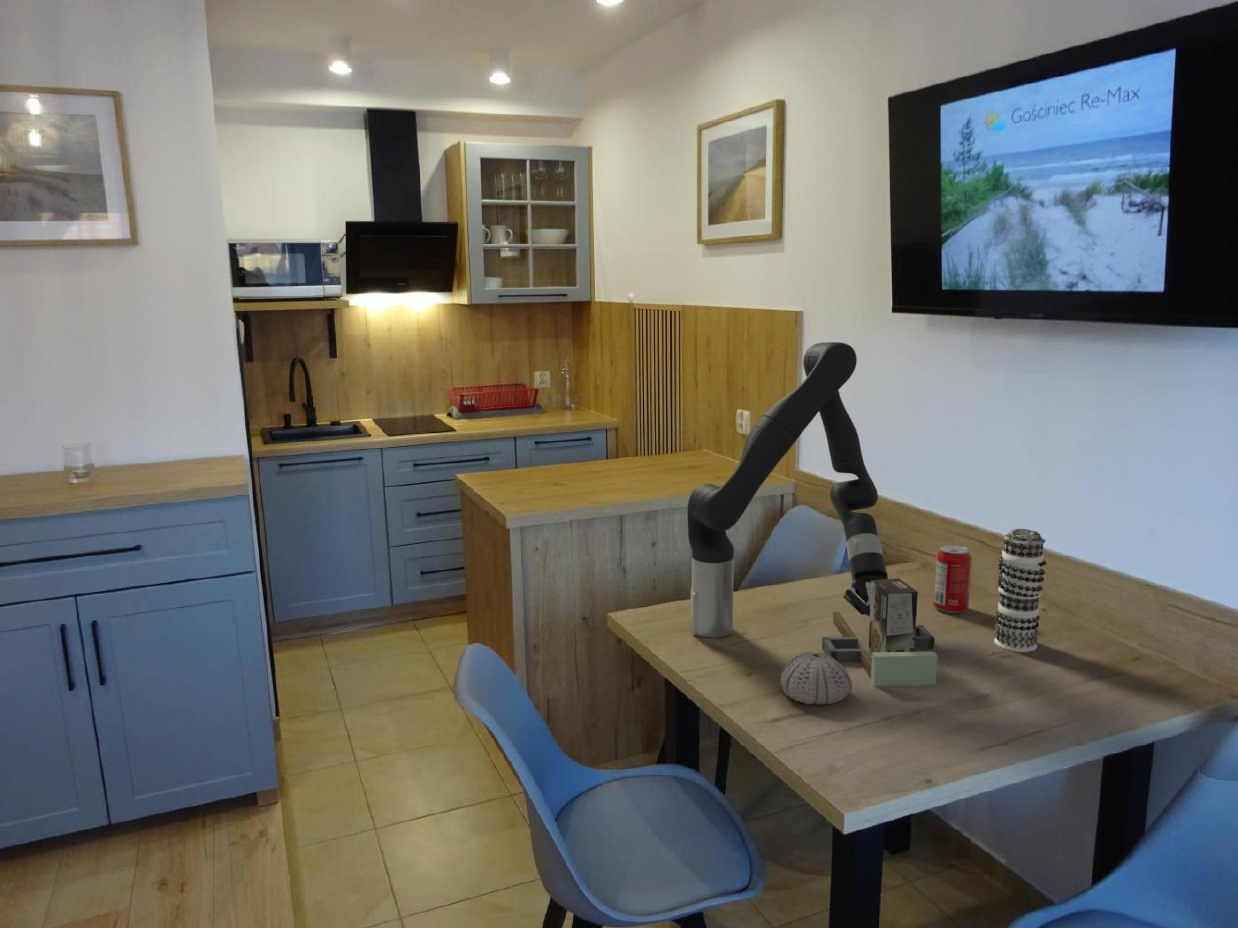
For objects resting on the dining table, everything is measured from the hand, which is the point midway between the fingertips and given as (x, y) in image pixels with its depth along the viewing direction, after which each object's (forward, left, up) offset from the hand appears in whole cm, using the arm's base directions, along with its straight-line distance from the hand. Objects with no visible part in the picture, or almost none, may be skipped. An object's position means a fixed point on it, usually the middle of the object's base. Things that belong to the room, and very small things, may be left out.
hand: (880, 631), depth 186 cm
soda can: (+24, +23, -4) cm, 33 cm away
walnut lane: (0, 0, -4) cm, 4 cm away
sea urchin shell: (-18, -20, -4) cm, 27 cm away
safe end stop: (0, -16, -4) cm, 16 cm away
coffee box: (+1, -5, -4) cm, 7 cm away
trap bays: (0, 0, -4) cm, 4 cm away
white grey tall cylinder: (+30, +2, -4) cm, 30 cm away
